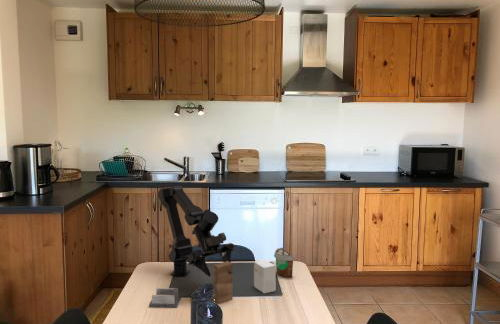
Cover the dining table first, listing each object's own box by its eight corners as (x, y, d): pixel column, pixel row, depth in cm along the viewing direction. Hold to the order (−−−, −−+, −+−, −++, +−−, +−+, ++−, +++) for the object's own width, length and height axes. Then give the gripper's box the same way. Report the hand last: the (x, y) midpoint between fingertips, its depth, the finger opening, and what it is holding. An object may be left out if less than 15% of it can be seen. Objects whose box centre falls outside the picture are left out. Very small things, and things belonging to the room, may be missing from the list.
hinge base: (154, 297, 156) (154, 287, 155) (181, 297, 155) (180, 287, 155) (149, 307, 148) (148, 296, 147) (176, 307, 147) (176, 296, 147)
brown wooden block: (213, 301, 153) (213, 264, 151) (227, 296, 157) (227, 261, 155) (219, 305, 150) (219, 267, 148) (234, 300, 154) (234, 264, 152)
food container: (269, 269, 185) (270, 248, 183) (282, 268, 186) (282, 247, 185) (280, 280, 173) (280, 257, 172) (293, 278, 175) (293, 255, 174)
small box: (275, 291, 162) (276, 265, 161) (263, 294, 159) (263, 267, 158) (265, 284, 169) (265, 259, 168) (253, 286, 166) (253, 261, 165)
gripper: (190, 230, 151) (206, 268, 143) (232, 222, 162) (249, 257, 155) (180, 246, 158) (195, 282, 150) (221, 237, 169) (237, 271, 162)
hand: (220, 273), depth 154 cm, fingers open, 9 cm apart
